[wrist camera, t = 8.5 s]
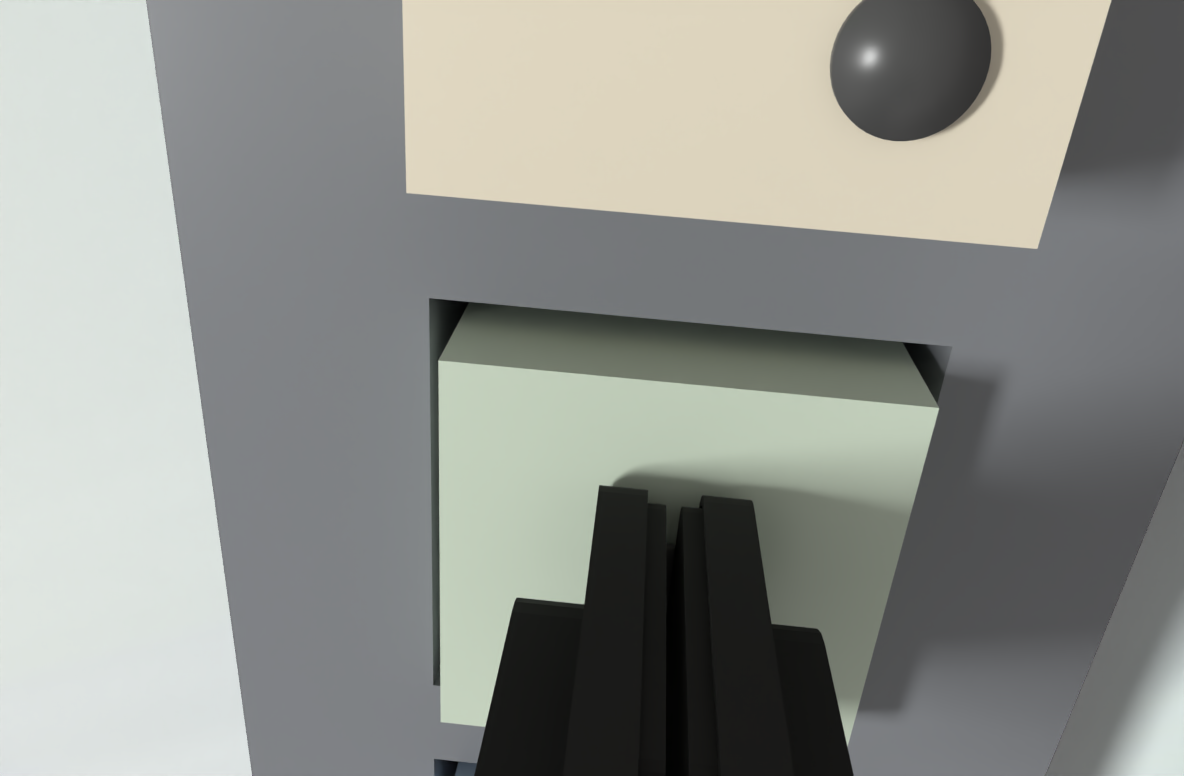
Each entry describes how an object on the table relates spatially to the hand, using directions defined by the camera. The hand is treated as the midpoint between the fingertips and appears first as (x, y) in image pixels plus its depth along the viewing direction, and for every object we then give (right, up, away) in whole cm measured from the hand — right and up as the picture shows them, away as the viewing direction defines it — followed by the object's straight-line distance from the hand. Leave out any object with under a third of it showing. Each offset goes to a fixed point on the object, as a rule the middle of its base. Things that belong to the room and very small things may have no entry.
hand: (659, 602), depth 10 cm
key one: (0, +2, +3) cm, 3 cm away
